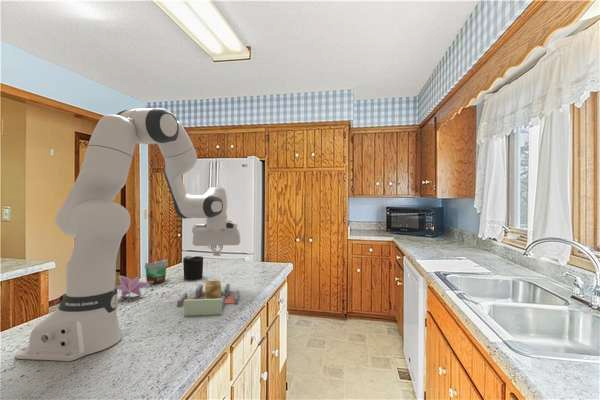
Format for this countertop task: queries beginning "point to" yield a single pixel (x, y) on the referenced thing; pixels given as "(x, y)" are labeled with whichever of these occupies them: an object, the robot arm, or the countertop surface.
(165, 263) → the food container
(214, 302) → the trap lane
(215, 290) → the honey block
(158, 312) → the countertop surface
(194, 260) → the pen holder
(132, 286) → the lily
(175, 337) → the countertop surface
